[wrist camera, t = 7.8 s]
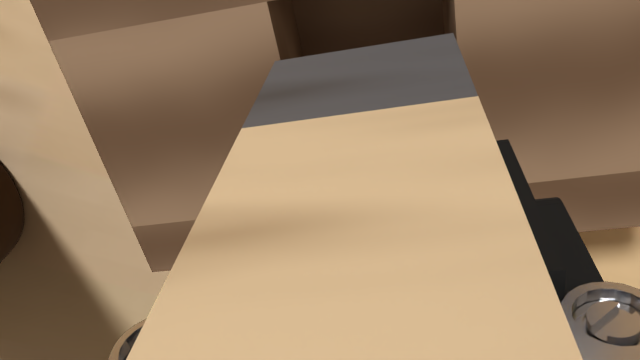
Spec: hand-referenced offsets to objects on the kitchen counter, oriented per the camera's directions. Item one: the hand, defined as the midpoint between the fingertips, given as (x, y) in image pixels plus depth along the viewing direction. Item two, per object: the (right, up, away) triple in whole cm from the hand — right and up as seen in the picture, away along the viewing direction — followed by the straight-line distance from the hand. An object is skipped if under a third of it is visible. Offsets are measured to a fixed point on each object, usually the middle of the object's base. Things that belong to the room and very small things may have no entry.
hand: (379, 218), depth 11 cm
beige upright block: (0, +1, +2) cm, 2 cm away
